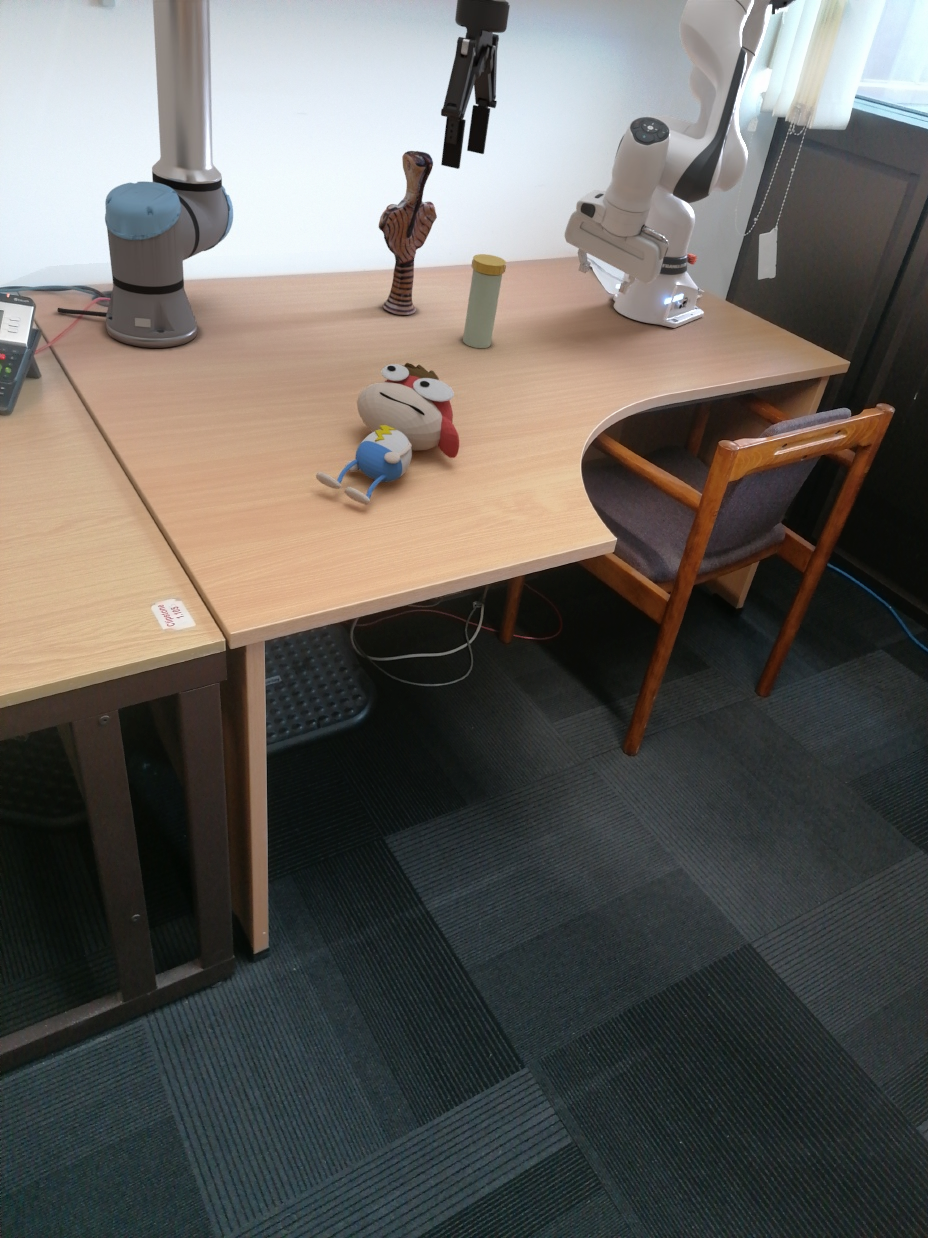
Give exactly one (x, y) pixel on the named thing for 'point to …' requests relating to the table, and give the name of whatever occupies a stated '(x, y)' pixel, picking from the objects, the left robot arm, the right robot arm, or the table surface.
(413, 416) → the toy
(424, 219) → the figurine
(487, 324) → the jar
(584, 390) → the table surface
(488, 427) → the table surface
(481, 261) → the lid
